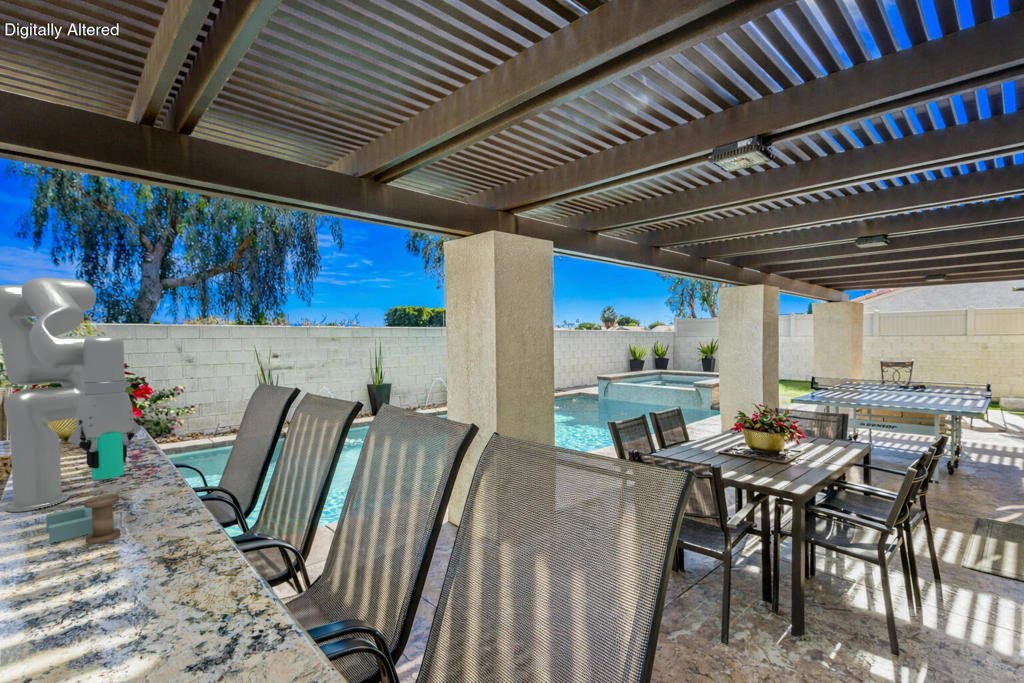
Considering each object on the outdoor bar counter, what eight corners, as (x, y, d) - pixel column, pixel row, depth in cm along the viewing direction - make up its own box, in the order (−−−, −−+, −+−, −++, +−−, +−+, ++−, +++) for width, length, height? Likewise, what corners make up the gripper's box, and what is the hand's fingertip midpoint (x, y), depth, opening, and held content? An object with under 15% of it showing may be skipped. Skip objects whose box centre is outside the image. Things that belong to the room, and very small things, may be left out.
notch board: (46, 529, 116) (46, 514, 115) (96, 518, 122) (95, 504, 122) (50, 543, 107) (49, 528, 107) (103, 531, 114) (102, 516, 114)
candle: (105, 480, 113) (104, 428, 113) (84, 478, 114) (83, 428, 114) (130, 472, 119) (129, 423, 119) (110, 471, 120) (108, 423, 120)
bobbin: (79, 541, 108) (78, 501, 108) (111, 531, 114) (109, 492, 113) (95, 545, 106) (93, 504, 106) (126, 535, 111) (124, 495, 111)
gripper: (135, 384, 125) (137, 454, 126) (51, 392, 110) (54, 472, 110) (153, 385, 122) (155, 457, 123) (69, 394, 107) (72, 476, 107)
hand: (107, 463), depth 116 cm, fingers closed on candle, 4 cm apart
